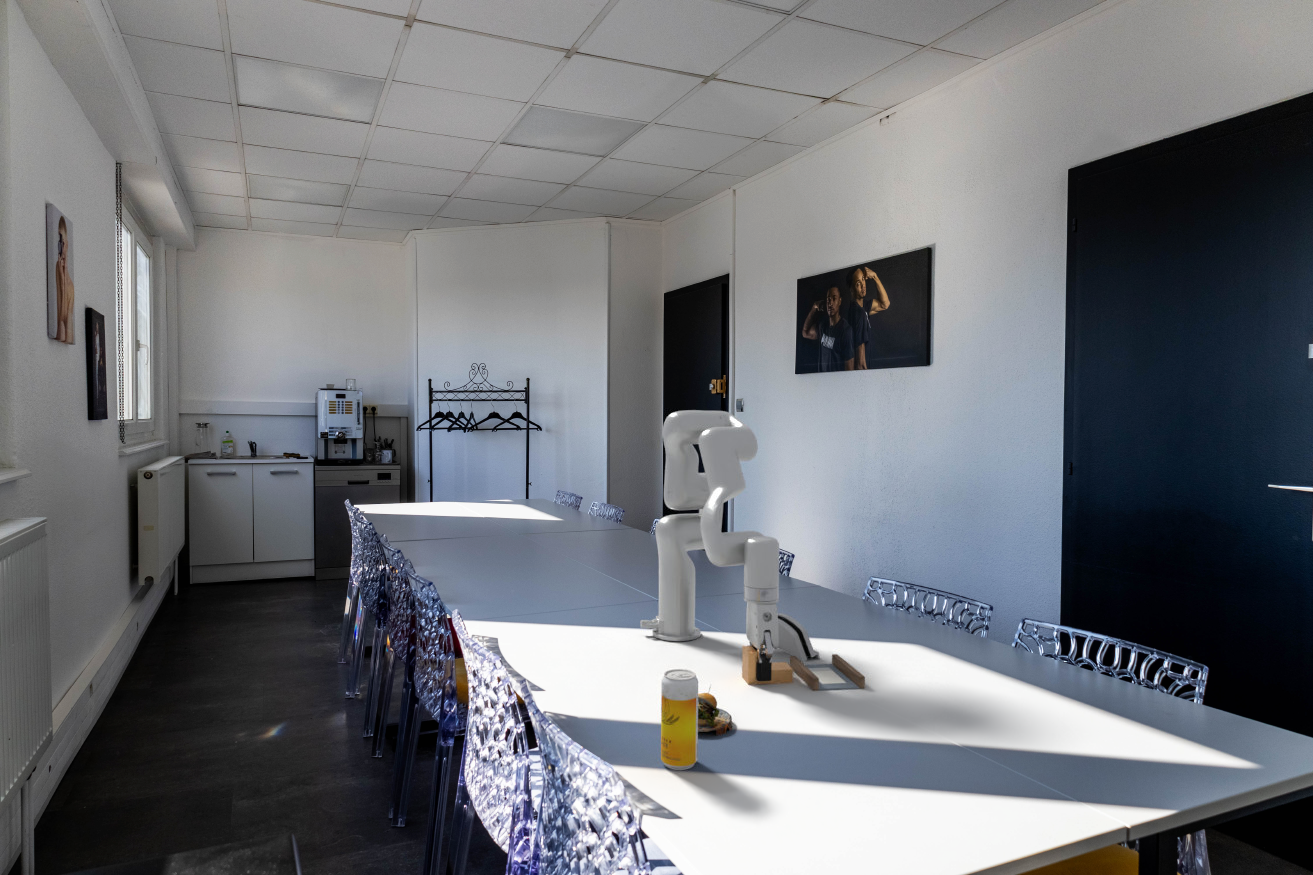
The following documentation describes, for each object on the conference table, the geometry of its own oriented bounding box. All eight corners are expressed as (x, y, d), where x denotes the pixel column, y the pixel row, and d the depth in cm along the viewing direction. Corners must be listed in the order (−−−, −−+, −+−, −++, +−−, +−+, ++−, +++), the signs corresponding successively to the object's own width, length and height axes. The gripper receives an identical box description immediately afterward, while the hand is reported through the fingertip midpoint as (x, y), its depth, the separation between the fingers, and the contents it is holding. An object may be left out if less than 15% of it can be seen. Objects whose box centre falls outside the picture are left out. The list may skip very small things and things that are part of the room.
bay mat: (819, 690, 171) (819, 688, 171) (794, 666, 186) (795, 664, 186) (858, 688, 172) (858, 686, 172) (831, 664, 188) (831, 663, 188)
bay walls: (813, 690, 170) (813, 678, 170) (789, 666, 186) (789, 655, 186) (864, 688, 172) (864, 676, 172) (836, 664, 188) (837, 654, 188)
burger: (659, 719, 155) (659, 680, 154) (714, 710, 159) (714, 673, 159) (686, 742, 144) (686, 701, 143) (744, 732, 148) (744, 692, 148)
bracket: (748, 684, 174) (748, 652, 174) (742, 677, 179) (742, 645, 179) (792, 682, 175) (793, 650, 175) (785, 675, 180) (786, 644, 180)
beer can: (659, 755, 137) (660, 668, 137) (694, 754, 138) (695, 667, 137) (662, 771, 131) (663, 680, 131) (699, 770, 132) (700, 679, 131)
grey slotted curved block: (821, 659, 192) (809, 621, 191) (805, 667, 190) (793, 629, 189) (785, 640, 208) (774, 605, 206) (770, 648, 206) (758, 612, 205)
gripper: (790, 602, 168) (788, 688, 169) (766, 584, 185) (765, 663, 186) (755, 603, 167) (754, 690, 168) (734, 585, 184) (733, 664, 185)
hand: (760, 675), depth 177 cm, fingers closed on bracket, 5 cm apart
